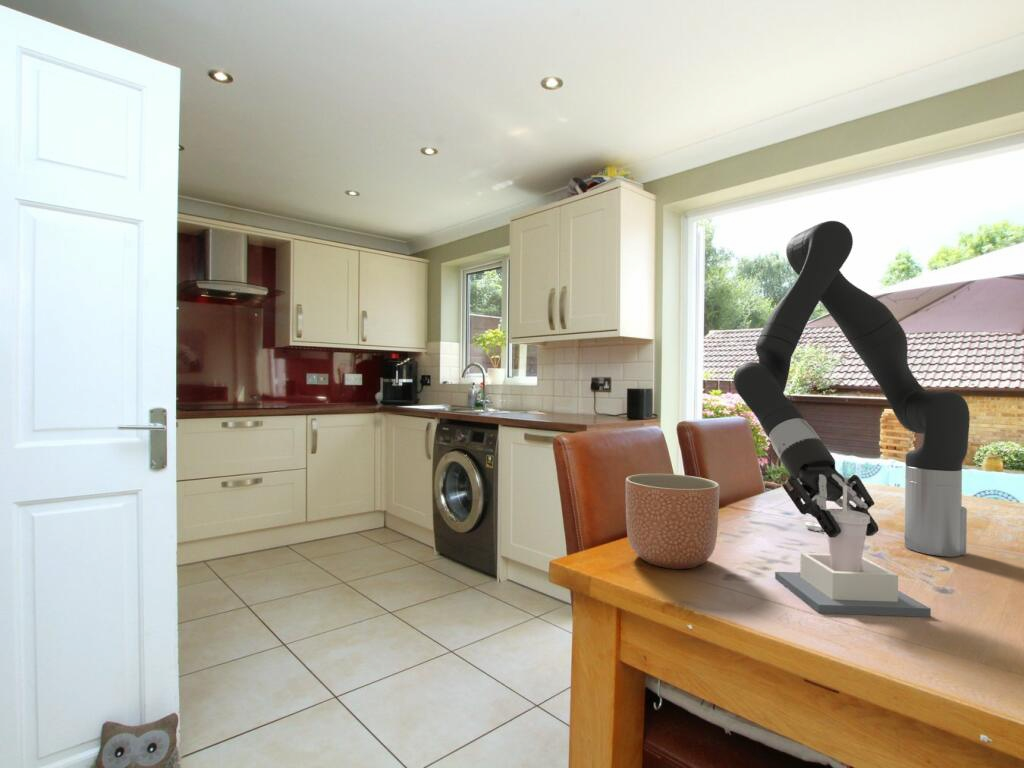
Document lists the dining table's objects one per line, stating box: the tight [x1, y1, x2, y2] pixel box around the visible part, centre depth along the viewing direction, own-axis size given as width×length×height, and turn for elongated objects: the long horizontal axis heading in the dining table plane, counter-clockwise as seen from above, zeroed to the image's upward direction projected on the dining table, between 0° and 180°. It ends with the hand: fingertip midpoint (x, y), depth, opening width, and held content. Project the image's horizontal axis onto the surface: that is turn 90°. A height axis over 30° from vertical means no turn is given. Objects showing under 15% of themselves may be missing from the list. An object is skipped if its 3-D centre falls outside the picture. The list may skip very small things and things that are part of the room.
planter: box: [625, 473, 720, 570], centre depth 100 cm, size 17×17×15 cm
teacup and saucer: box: [804, 521, 823, 532], centre depth 124 cm, size 9×8×4 cm
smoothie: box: [826, 485, 870, 572], centre depth 84 cm, size 6×6×14 cm
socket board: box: [774, 552, 932, 618], centre depth 84 cm, size 16×14×5 cm
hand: (854, 534), depth 83 cm, fingers closed on smoothie, 6 cm apart
